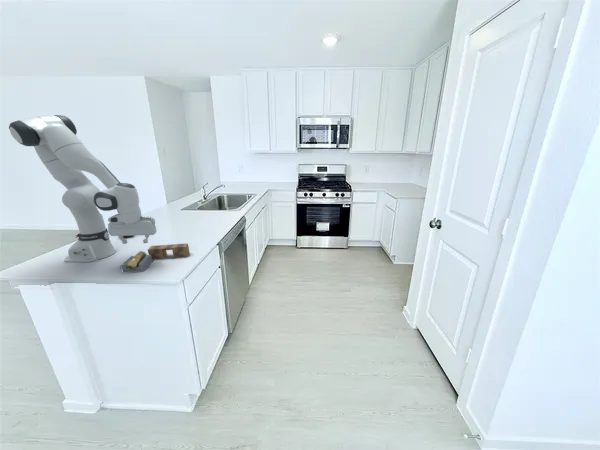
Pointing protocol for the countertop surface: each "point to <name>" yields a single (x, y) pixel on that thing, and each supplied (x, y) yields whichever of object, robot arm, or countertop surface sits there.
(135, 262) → the gold bar
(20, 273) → the countertop surface
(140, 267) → the v block
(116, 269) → the countertop surface
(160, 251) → the beam
